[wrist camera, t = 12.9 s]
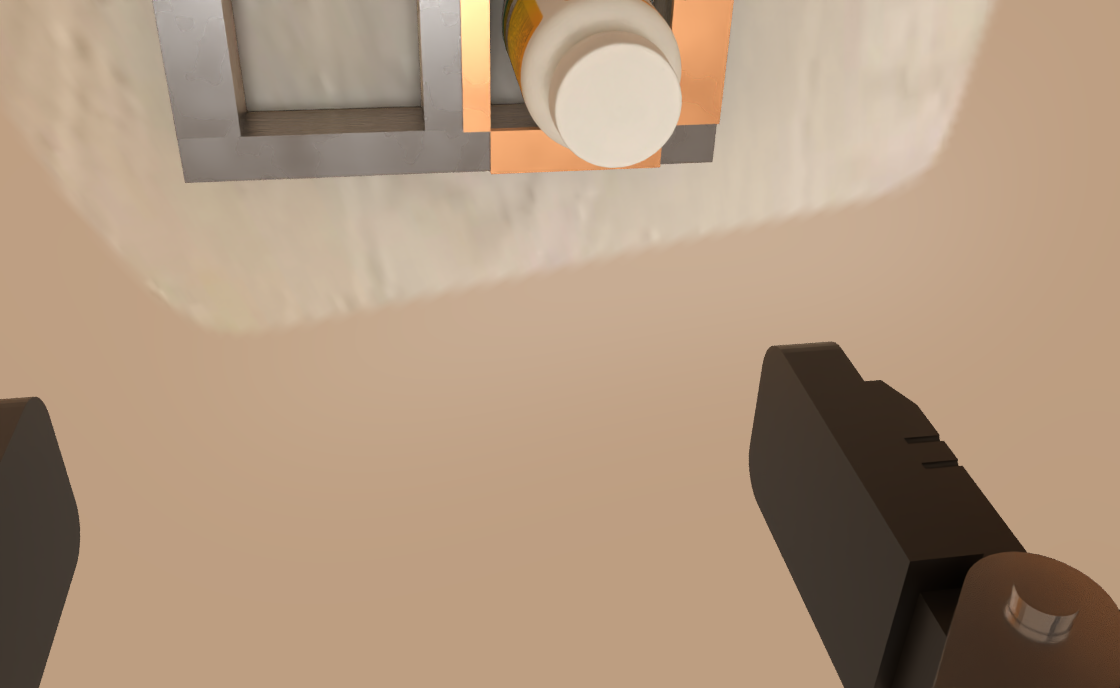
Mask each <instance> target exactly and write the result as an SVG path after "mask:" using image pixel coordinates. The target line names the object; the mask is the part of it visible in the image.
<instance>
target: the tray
mask: <svg viewBox="0 0 1120 688" xmlns="http://www.w3.org/2000/svg"><path fill="white" fill-rule="evenodd" d="M733 1H734V0H654V7H655V8H656V10H657V11H658V12H659V13H660V15H661V16H662V17H663V18H664V20H665V21H666V22H667V24H668V25H669V27H670V29H671V30H672V32H673V34H674V36H675V39H676V41H677V44H678V48H679V52H680V57H681V80H680V88H681V94H682V106H681V113H680V117H679V120H678V123H677V125H676V127H675V129H674V131H673V133H672V135H671V136H670V138H669V139H668V141H667V142H666V143H665V144H664V145H663V146H662V147H661V148H660V149H659V150H658V151H657V152H656V153H655V154H653V155H652V156H650V157H649V158H647V159H645V160H643V161H641V162H639V163H636V164H633V165H630V166H626V167H618V168H607V167H601V166H597V165H594V164H591V163H588V162H586V161H585V160H583V159H581V158H579V157H578V156H576V155H575V154H574V153H573V152H572V151H571V150H570V149H568V148H566V147H564V146H562V145H560V144H558V143H556V142H555V141H554V140H552V139H551V138H549V137H548V136H547V135H546V134H545V133H544V132H543V131H542V130H541V129H540V128H539V127H538V125H537V124H536V123H535V121H534V120H533V118H532V117H531V115H530V113H529V111H528V109H527V106H526V104H498V105H490V0H417V17H418V39H419V61H420V83H421V105H422V107H398V108H364V109H331V110H297V111H264V112H247V110H246V102H245V95H244V88H243V81H242V74H241V67H240V60H239V53H238V45H237V38H236V31H235V24H234V17H233V10H232V3H231V0H152V2H153V7H154V13H155V18H156V24H157V29H158V35H159V41H160V46H161V52H162V57H163V63H164V68H165V74H166V79H167V85H168V90H169V96H170V101H171V107H172V113H173V118H174V124H175V129H176V135H177V140H178V146H179V151H180V157H181V162H182V168H183V173H184V179H185V183H194V182H219V181H245V180H270V179H295V178H321V177H346V176H372V175H397V174H422V173H448V172H473V171H490V172H491V174H504V173H529V172H554V171H579V170H605V169H630V168H655V167H660V164H676V163H702V162H712V160H713V151H714V143H715V134H716V125H717V124H719V122H720V113H721V104H722V96H723V87H724V79H725V70H726V62H727V53H728V44H729V36H730V27H731V19H732V10H733Z"/></svg>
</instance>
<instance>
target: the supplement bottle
mask: <svg viewBox="0 0 1120 688" xmlns="http://www.w3.org/2000/svg"><path fill="white" fill-rule="evenodd" d="M502 33H503V38H504V43H505V47H506V50H507V53H508V55H509V58H510V61H511V63H512V66H513V69H514V72H515V75H516V78H517V81H518V83H519V86H520V90H521V92H522V95H523V98H524V101H525V104H526V106H527V109H528V111H529V113H530V115H531V117H532V118H533V120H534V121H535V123H536V124H537V125H538V127H539V128H540V129H541V130H542V131H543V132H544V133H545V134H546V135H547V136H548V137H549V138H551V139H552V140H554V141H555V142H556V143H558V144H560V145H562V146H564V147H566V148H568V149H570V150H571V151H572V152H573V153H574V154H575V155H576V156H578V157H579V158H581V159H583V160H585V161H586V162H588V163H591V164H594V165H597V166H601V167H607V168H618V167H626V166H630V165H633V164H636V163H639V162H641V161H643V160H645V159H647V158H649V157H650V156H652V155H653V154H655V153H656V152H657V151H658V150H659V149H660V148H661V147H662V146H663V145H664V144H665V143H666V142H667V141H668V139H669V138H670V136H671V135H672V133H673V131H674V129H675V127H676V125H677V123H678V120H679V117H680V113H681V106H682V94H681V88H680V80H681V57H680V52H679V48H678V44H677V41H676V39H675V36H674V34H673V32H672V30H671V29H670V27H669V25H668V24H667V22H666V21H665V20H664V18H663V17H662V16H661V15H660V13H659V12H658V11H657V10H656V8H655V7H654V6H653V5H652V3H651V2H650V1H649V0H506V1H505V4H504V8H503V15H502Z"/></svg>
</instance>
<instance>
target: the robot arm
mask: <svg viewBox="0 0 1120 688" xmlns="http://www.w3.org/2000/svg"><path fill="white" fill-rule="evenodd" d="M957 461H958V459H957V458H956V457H955V455H954V454H953V452H952V451H951V450H950V448H949V447H948V446H947V444H946V443H945V442H944V441H940V439H939V434H938V433H937V431H936V430H935V428H934V427H933V426H932V424H931V423H930V422H929V420H928V419H927V418H926V416H925V415H924V414H923V412H922V411H921V410H920V408H919V407H918V406H917V405H916V404H915V403H913V402H912V401H910V400H909V399H908V398H906V397H905V396H903V395H902V394H900V393H899V392H897V391H896V390H895V389H893V388H892V387H890V386H889V385H887V384H886V383H884V382H883V381H881V380H876V381H864V380H863V379H862V377H861V376H860V374H859V373H858V372H857V370H856V369H855V367H854V366H853V364H852V363H851V362H850V360H849V359H848V357H847V356H846V354H845V353H844V352H843V350H842V349H841V347H839V345H838V344H836V343H835V342H820V343H808V344H807V343H806V344H792V345H778V346H771V347H770V348H769V349H768V350H767V352H766V354H765V357H764V361H763V365H762V372H761V378H760V384H759V392H758V398H757V404H756V410H755V416H754V423H753V429H752V436H751V442H750V449H749V471H750V478H751V484H752V489H753V492H754V495H755V499H756V501H757V504H758V506H759V508H760V510H761V512H762V514H763V516H764V518H765V521H766V523H767V525H768V527H769V529H770V531H771V533H772V535H773V538H774V540H775V542H776V544H777V546H778V548H779V550H780V552H781V554H782V557H783V558H784V561H785V563H786V565H787V567H788V569H789V571H790V573H791V576H792V578H793V580H794V582H795V584H796V586H797V588H798V591H799V592H800V595H801V597H802V599H803V601H804V603H805V605H806V608H807V610H808V612H809V614H810V616H811V618H812V620H813V622H814V624H815V627H816V629H817V631H818V633H819V635H820V637H821V639H822V641H823V644H824V646H825V648H826V650H827V652H828V654H829V656H830V658H831V660H832V663H833V665H834V667H835V669H836V671H837V673H838V675H839V677H840V680H841V682H842V684H843V686H844V688H1120V610H1119V609H1118V607H1117V605H1116V604H1115V603H1114V601H1113V600H1112V598H1111V597H1110V596H1109V595H1108V594H1107V593H1106V591H1104V589H1102V587H1101V586H1099V585H1098V584H1097V583H1096V582H1094V581H1093V580H1092V579H1091V578H1089V577H1088V576H1087V575H1085V574H1083V573H1082V572H1080V571H1079V570H1077V569H1075V568H1073V567H1071V566H1069V565H1067V564H1065V563H1063V562H1060V561H1058V560H1055V559H1052V558H1049V557H1046V556H1042V555H1038V554H1032V553H1027V552H1026V550H1025V549H1024V548H1023V546H1022V545H1021V544H1020V542H1019V541H1018V540H1017V538H1016V537H1015V536H1014V535H1013V533H1012V532H1011V530H1010V529H1009V528H1008V526H1007V525H1006V523H1005V522H1004V521H1003V519H1002V518H1001V517H1000V516H999V514H998V513H997V511H996V510H995V509H994V507H993V506H992V505H991V503H990V502H989V501H988V499H987V498H986V497H985V495H984V494H983V493H982V492H981V490H980V489H979V487H978V486H977V485H976V483H975V482H974V481H973V479H972V478H971V477H970V475H969V474H968V473H967V471H966V470H965V469H964V467H963V466H958V462H957ZM79 547H80V524H79V515H78V509H77V505H76V501H75V498H74V495H73V492H72V488H71V485H70V482H69V478H68V475H67V472H66V468H65V465H64V462H63V459H62V456H61V452H60V449H59V446H58V442H57V439H56V436H55V433H54V429H53V426H52V423H51V419H50V416H49V413H48V410H47V409H46V406H45V404H44V403H43V401H42V400H41V399H40V398H38V397H26V398H13V399H0V688H39V685H40V682H41V678H42V675H43V672H44V669H45V666H46V662H47V659H48V656H49V653H50V649H51V646H52V643H53V640H54V636H55V633H56V630H57V626H58V623H59V620H60V617H61V614H62V610H63V607H64V604H65V601H66V597H67V594H68V591H69V587H70V584H71V581H72V578H73V575H74V571H75V568H76V564H77V561H78V555H79Z"/></svg>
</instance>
